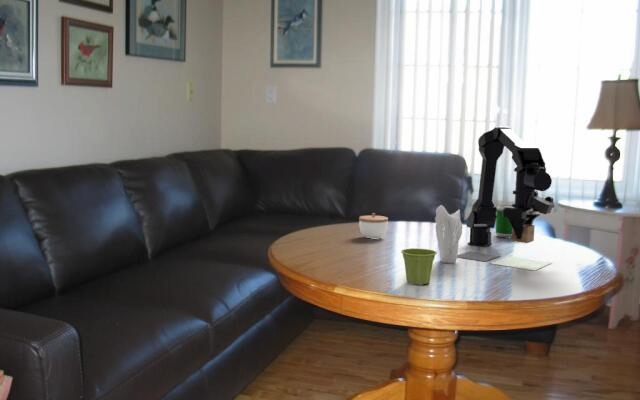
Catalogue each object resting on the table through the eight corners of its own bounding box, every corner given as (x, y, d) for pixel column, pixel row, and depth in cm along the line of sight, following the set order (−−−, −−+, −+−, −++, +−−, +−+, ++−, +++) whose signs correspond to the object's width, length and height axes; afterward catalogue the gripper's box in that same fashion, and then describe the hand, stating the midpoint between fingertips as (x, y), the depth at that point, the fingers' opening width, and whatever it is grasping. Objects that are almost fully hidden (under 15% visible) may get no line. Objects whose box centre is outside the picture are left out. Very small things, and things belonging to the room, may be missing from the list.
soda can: (516, 238, 249) (518, 207, 247) (496, 237, 250) (497, 206, 249) (515, 235, 256) (516, 204, 254) (494, 234, 257) (496, 203, 256)
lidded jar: (368, 234, 254) (369, 210, 252) (392, 237, 247) (393, 212, 246) (353, 238, 245) (353, 213, 244) (378, 241, 239) (378, 216, 238)
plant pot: (397, 278, 184) (398, 248, 183) (430, 278, 185) (431, 248, 184) (404, 287, 175) (405, 255, 174) (439, 287, 176) (440, 254, 174)
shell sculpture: (461, 260, 209) (463, 203, 207) (460, 265, 201) (463, 207, 199) (434, 258, 211) (437, 202, 209) (433, 264, 203) (435, 205, 201)
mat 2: (490, 263, 205) (490, 263, 205) (509, 256, 215) (509, 256, 215) (534, 270, 196) (534, 270, 196) (552, 263, 207) (552, 262, 207)
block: (511, 241, 205) (512, 225, 204) (518, 238, 208) (519, 223, 208) (527, 243, 201) (528, 226, 201) (533, 240, 205) (534, 225, 205)
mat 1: (453, 256, 214) (453, 256, 214) (469, 251, 223) (469, 251, 223) (485, 261, 207) (485, 261, 207) (500, 256, 216) (500, 255, 216)
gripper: (539, 192, 191) (536, 245, 193) (562, 187, 205) (559, 237, 207) (502, 189, 198) (500, 240, 200) (527, 184, 212) (525, 232, 214)
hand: (522, 237), depth 205 cm, fingers closed on block, 5 cm apart
